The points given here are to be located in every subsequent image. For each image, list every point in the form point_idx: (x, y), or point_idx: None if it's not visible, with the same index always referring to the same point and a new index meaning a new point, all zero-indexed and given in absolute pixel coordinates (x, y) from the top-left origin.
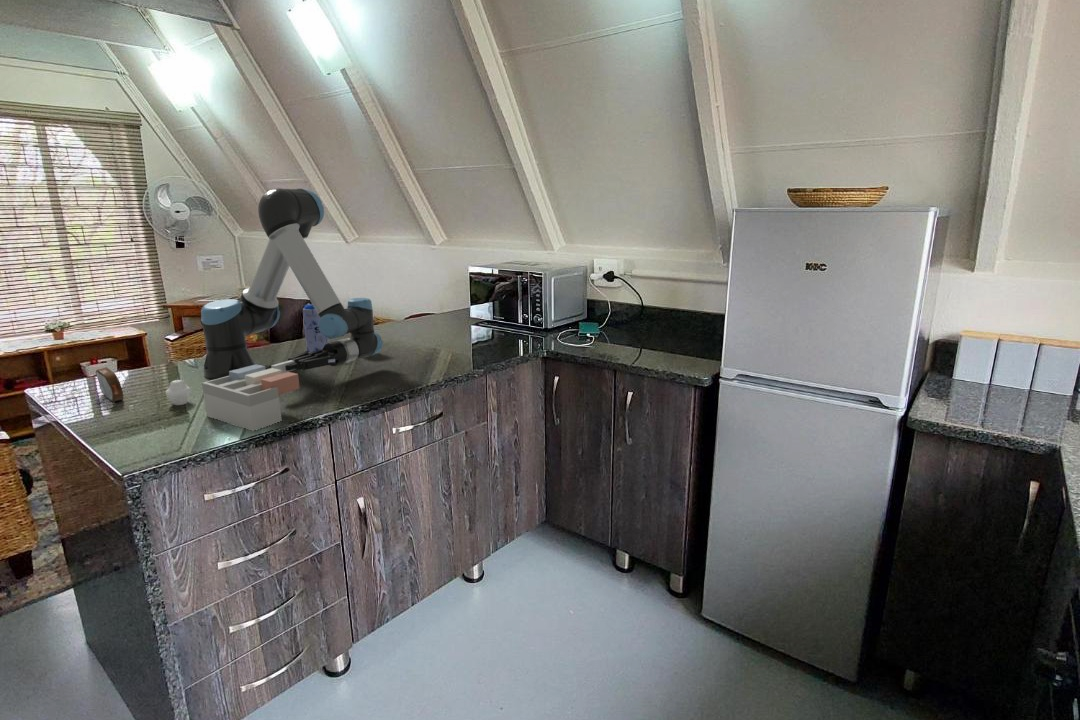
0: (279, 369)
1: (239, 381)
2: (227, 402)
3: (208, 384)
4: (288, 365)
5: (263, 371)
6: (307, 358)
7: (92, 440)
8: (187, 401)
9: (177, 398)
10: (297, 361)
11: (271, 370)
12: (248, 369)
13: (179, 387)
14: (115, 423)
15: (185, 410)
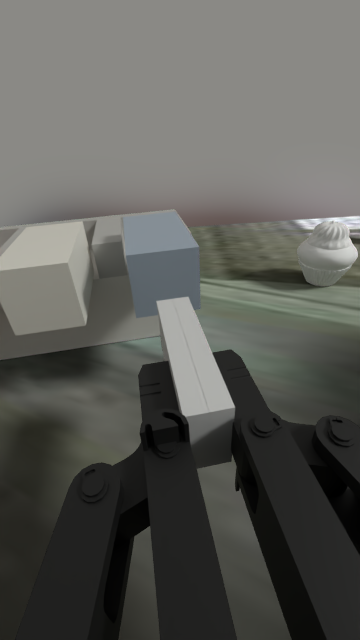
0: (162, 342)
1: (96, 235)
2: None
3: (146, 212)
4: (152, 374)
5: (56, 243)
6: (192, 630)
7: (198, 228)
8: (316, 283)
9: (299, 259)
10: (147, 434)
11: (33, 256)
12: (140, 229)
13: (311, 238)
14: (254, 237)
15: (256, 279)
